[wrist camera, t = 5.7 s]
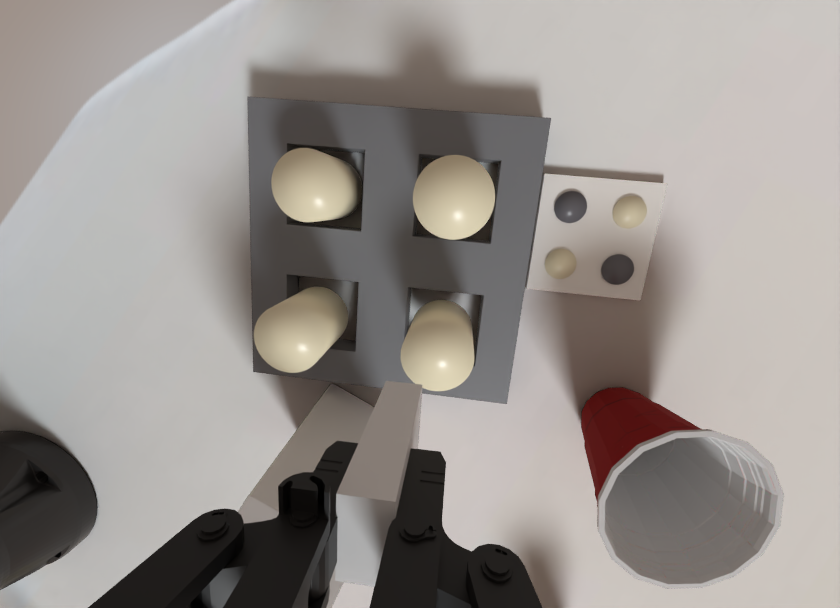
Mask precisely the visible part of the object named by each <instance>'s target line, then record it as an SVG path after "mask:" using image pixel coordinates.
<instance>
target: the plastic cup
mask: <svg viewBox="0 0 840 608" xmlns="http://www.w3.org/2000/svg"><path fill="white" fill-rule="evenodd" d="M581 428H582V432H583V436H584V440H585V450H586V454H587V458H588V462H589V466H590V470H591V474H592V478H593V483H594V487H595V496H596V499H597V507H598V517H597V527H598V532H599V534H600V536H601V538H602V540H603V542H604V545H605V547H606V549H607V551H608V553H609V555H610V557H611V559H612V560H613V561H615V562H616V563H617V564H618V565H619V566H621V567H622V568H623V569H624V570H625V571H627V572H628V573H629V574H630V575H632V576H633V577H634V578H635V579H638V580H641V581H644V582H647V583H651V584H654V585H657V586H660V587H663V588H666V589H676V588H703V587H706V586H709V585H711V584H714V583H717V582H720V581H723V580H725V579H728V578H731V577H734V576H736V575H737V574H739V573H740V572H741V571H742V570H744V569H745V568H746V567H748V566H749V565H750V564H751V563H753V562H754V561H755V560H756V559H758V558H759V557H760V556H762V555H763V554H764V552H765V550H766V549H767V547H768V545H769V544H770V542H771V540H772V539H773V537H774V535H775V534H776V532H777V530H778V529H779V527H780V523H781V515H782V506H783V497H784V493H783V491H782V488H781V485H780V483H779V480H778V477H777V475H776V472H775V470H774V467H773V465H772V464H771V463H770V462H769V461H768V460H767V459H766V458H765V457H764V456H762V455H761V454H760V453H759V452H758V451H757V450H756V449H755V448H754V447H753V446H752V445H750V444H749V443H748V442H746V441H743V440H740V439H737V438H733V437H730V436H727V435H724V434H721V433H718V432H715V431H712V430H709V429H700V428H698V427H697V426H695V425H693V424H692V423H690V422H688V421H686V420H685V419H683V418H681V417H680V416H678V415H676V414H675V413H673V412H671V411H670V410H668V409H666V408H664V407H663V406H661V405H659V404H657V403H654V402H652V401H651V400H649V399H648V398H646V397H645V396H643V395H641V394H640V393H637V392H634V391H632V390H629V389H626V388H623V387H619V388H607V389H604V390H602V391H599V392H597V393H595V394H594V395H593V396H592V397H591V398H590V399H589V400H587V402H586V404H585V406H584V408H583V410H582V421H581Z"/></svg>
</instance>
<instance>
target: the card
mask: <svg viewBox="0 0 840 608" xmlns="http://www.w3.org/2000/svg"><path fill="white" fill-rule="evenodd" d="M667 185H668V184H667V183H655V182H643V181H630V180H618V179H606V178H593V177H581V176H569V175H557V174H543V178H542V185H541V191H540V198H539V204H538V210H537V217H536V223H535V230H534V236H533V243H532V249H531V255H530V262H529V268H528V275H527V281H526V289H534V290H543V291H553V292H562V293H572V294H582V295H591V296H601V297H610V298H620V299H630V300H639V301H641V297H642V292H643V288H644V284H645V279H646V275H647V271H648V267H649V262H650V258H651V254H652V249H653V245H654V241H655V236H656V232H657V228H658V223H659V219H660V215H661V211H662V206H663V202H664V198H665V193H666V189H667Z"/></svg>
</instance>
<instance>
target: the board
mask: <svg viewBox="0 0 840 608" xmlns="http://www.w3.org/2000/svg"><path fill="white" fill-rule="evenodd" d="M550 122H551V118H543V117H529V116H515V115H500V114H486V113H472V112H458V111H443V110H429V109H415V108H401V107H386V106H372V105H358V104H344V103H330V102H315V101H301V100H287V99H273V98H258V97H248V142H249V189H250V236H251V283H252V331H253V372H259V373H266V374H274V375H282V376H290V377H298V378H306V379H314V380H321V381H329V382H337V383H345V384H353V385H361V386H369V387H377V388H383V387H384V384H385V382H386V381H392V382H402V383H411V384H415V383H414V382H413V381H412V380H411V379H410V378H409V377H408V376H407V375H406V373H405V371H404V369H403V367H402V363H401V348H402V344H403V342H404V340H405V337H406V335H407V333H408V324H409V312H410V300H411V288H420V289H430V290H439V291H448V292H458V293H467V294H477V295H482V297H481V305H480V313H479V320H478V328H477V336H476V344H475V352H474V365H473V368H472V371H471V373H470V375H469V376H468V378H467V379H466V380H465V381H464V382H463V383H462V384H460V385H459V386H457V387H455V388H453V389H450V390H446V391H431V390H427V389H424V388H422V393H424V394H432V395H440V396H447V397H455V398H463V399H471V400H479V401H487V402H495V403H503V404H507V399H508V392H509V386H510V379H511V373H512V367H513V360H514V354H515V347H516V341H517V334H518V328H519V322H520V315H521V309H522V302H523V296H524V289H525V283H526V277H527V270H528V264H529V257H530V251H531V244H532V238H533V231H534V225H535V219H536V212H537V206H538V199H539V193H540V186H541V180H542V174H543V167H544V161H545V154H546V148H547V141H548V135H549V129H550ZM297 148H310V149H321V150H334V151H346V152H359V153H365V163H364V184H363V205H362V226H361V229H357V228H347V227H336V226H326V225H315V224H305V223H299V221H298V220H295V219H293V218H291V217H289V216H288V215H287V214H285V213H284V212H283V211H282V210H281V208H280V207H279V206H278V204H277V202H276V200H275V198H274V195H273V192H272V185H271V180H272V173H273V170H274V167H275V165H276V164H277V162H278V160H279V159H280V158H281V157H282V156H283V155H284V154H286V153H287V152H289V151H291V150H294V149H297ZM448 155H462V156H466V157H469V158H471V159H474V160H475V161H477V162H484V163H496V164H498V172H497V180H496V188H495V203H494V208H493V211H492V219H491V227H490V235H489V241H483V240H473V239H456V240H449V239H444V238H440V237H438V236H431V235H420V234H416V227H417V216H416V213H415V210H414V206H413V191H414V187H415V183H416V181H417V179H418V177H419V175H420V173H421V166H422V158H434V159H438V158H441V157H444V156H448ZM299 276H307V277H317V278H326V279H335V280H345V281H354V282H359V288H358V309H357V330H356V341H350V340H342V339H337V341H336V342H335V343H334V344H333V345H332V346H331V347H330V348H329V349H328V350H327V351H326V352H325V354H324V355H323V356H322V357H321V358H320V359H319V360H318V361H317V362H316V363H315V364H314V365H313V366H312V367H310V368H309V369H307V370H305V371H302V372H298V373H288V372H283V371H280V370H277V369H275V368H274V367H272V366H270V365H269V364H268V363H267V362H266V361H265V360H264V359H263V358H262V357H261V355H260V354H259V352H258V350H257V348H256V345H255V341H254V329H255V325H256V322H257V320H258V318H259V317H260V316H261V315H262V314H263V312H265V311H266V310H267V309H269V308H271V307H273V306H275V305H277V304H278V303H280V302H282V301H284V300H286V299H288V298H290V297H291V296H293V295H295V294H297V293H299Z"/></svg>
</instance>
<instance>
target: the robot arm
mask: <svg viewBox="0 0 840 608" xmlns="http://www.w3.org/2000/svg"><path fill="white" fill-rule="evenodd" d="M421 399H422V385H421V384H411V383H402V382H392V381H386V382H385V384H384V387H383V389H382V391H381V394H380V396H379V398H378V400H377V403H376V405H375V407H374V409H373V412H372V414H371V416H370V418H369V421H368V423H367V425H366V427H365V430H364V432H363V434H362V437H361V439H360V441H359V443H353V442H345V441H336V442H335V443H333V444H332V445H331V446H329V447H328V448H327V449H326V450H325V452H324V454H323V455H322V457H321V459H320V461H319V462H318V464H317V466H316V468H315V470H314V471H313V472H302V473H298V474H295V475H292V476H290V477H288V478H286V479H285V480H283V481H282V483H281V484H280V485H279V486H278V501H279V514H278V516H277V517H276V518H274V519H271V520H266V521H261V522H253V523H245V524H244V521H243V519H242V516H241V514H239V513H238V512H236V511H235V510H231V509H218V510H213V511H210V512H207V513H205V514H202V515H201V516H199V517H198V518H196V519H195V520H193V521H192V522H191V523H190V524H188V525H187V526H186V527H185V528H184V529H182V530H181V531H180V532H179V533H177V534H176V535H175V536H174V537H173V538H171V539H170V540H169V541H168V542H167V543H165V544H164V545H163V546H162V547H161V548H159V549H158V550H157V551H156V552H155V553H153V554H152V555H151V556H150V557H149V558H147V559H146V560H145V561H144V562H143V563H141V564H140V565H139V566H138V567H137V568H135V569H134V570H133V571H132V572H131V573H129V574H128V575H127V576H126V577H124V578H123V579H122V580H121V581H120V582H118V583H117V584H116V585H115V586H114V587H112V588H111V589H110V590H109V591H108V592H106V593H105V594H104V595H103V596H102V597H100V598H99V599H98V600H97V601H96V602H94V603H93V604H92V605H91V606H90V607H88V608H326V607H327V604H328V601H329V594H330V580H331V577H332V575H333V572H334V569H335V581H340V582H346V583H353V584H360V585H366V586H373V587H374V592H373V596H372V600H371V604H370V608H542V606H541V603H540V601H539V599H538V596H537V594H536V592H535V589H534V587H533V585H532V582H531V580H530V578H529V575H528V573H527V571H526V568H525V566H524V565H523V563H522V562H521V560H520V559H519V557H518V556H517V555H516V554H514V553H513V552H512V551H511V550H509V549H507V548H505V547H502V546H500V545H494V544H486V545H482V546H478V547H477V548H476V549H475V550H473V551H472V552H471V551H469V550H467V549H464V548H462V547H460V546H459V545H457V544H455V543H454V542H453V541H452V540H451V539H449V537H448V536H447V535H446V533H445V532H444V529H443V527H442V510H443V496H444V482H445V467H446V462H445V460H444V458H443V456H442V454H441V452H438V451H429V450H421V449H418V443H419V428H420V414H421ZM96 516H97V503H96V497H95V493H94V490H93V488H92V485H91V483H90V481H89V479H88V477H87V476H86V474H85V473H84V471H83V470H82V468H81V467H80V466H79V465H78V464H77V462H76V461H75V460H74V459H73V458H72V457H71V456H70V455H69V454H67V453H66V452H65V451H64V450H62V449H61V448H60V447H58V446H57V445H55V444H54V443H52V442H50V441H48V440H46V439H44V438H42V437H39V436H37V435H34V434H30V433H26V432H20V431H5V432H0V590H1V589H3V588H5V587H7V586H9V585H11V584H13V583H15V582H17V581H18V580H20V579H22V578H24V577H26V576H28V575H30V574H31V573H33V572H35V571H37V570H39V569H40V568H42V567H43V566H45V565H47V564H50V563H52V562H54V561H56V560H58V559H60V558H62V557H63V556H65V555H66V554H67V553H69V552H70V551H71V550H72V549H73V548H74V547H75V546H77V545H78V544H79V543H80V542H81V541H82V540H83V539H85V538H86V537H87V536H88V534H89V533H90V532H91V530H92V528H93V526H94V524H95V521H96Z"/></svg>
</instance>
